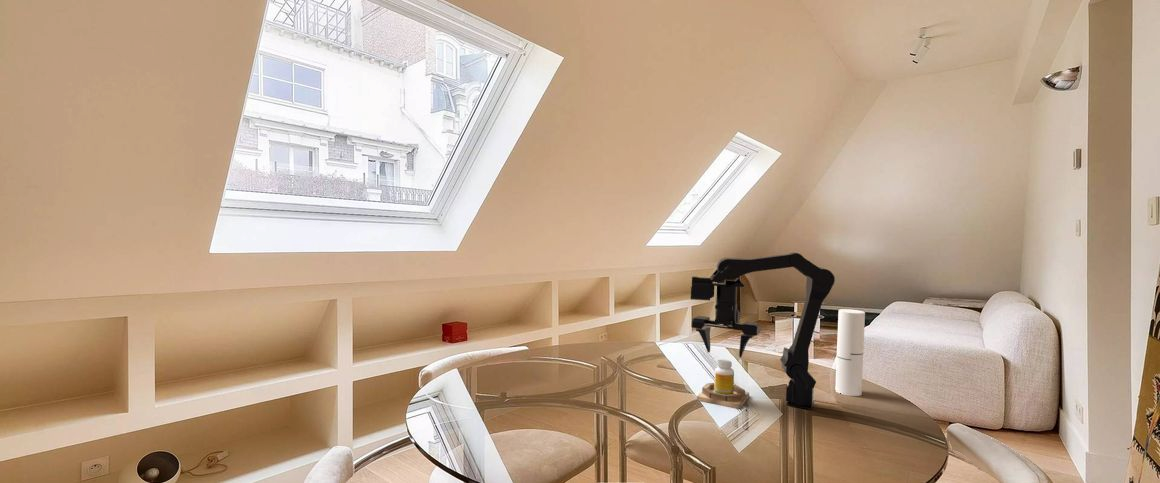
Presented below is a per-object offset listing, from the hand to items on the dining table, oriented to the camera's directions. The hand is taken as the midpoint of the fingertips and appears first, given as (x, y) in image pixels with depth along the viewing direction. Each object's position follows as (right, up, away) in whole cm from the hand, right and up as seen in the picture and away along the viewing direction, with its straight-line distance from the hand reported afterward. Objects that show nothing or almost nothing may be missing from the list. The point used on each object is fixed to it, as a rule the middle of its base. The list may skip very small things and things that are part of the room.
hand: (724, 354), depth 150 cm
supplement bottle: (0, -12, +1) cm, 12 cm away
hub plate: (0, -13, +1) cm, 13 cm away
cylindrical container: (+40, -14, +8) cm, 43 cm away
